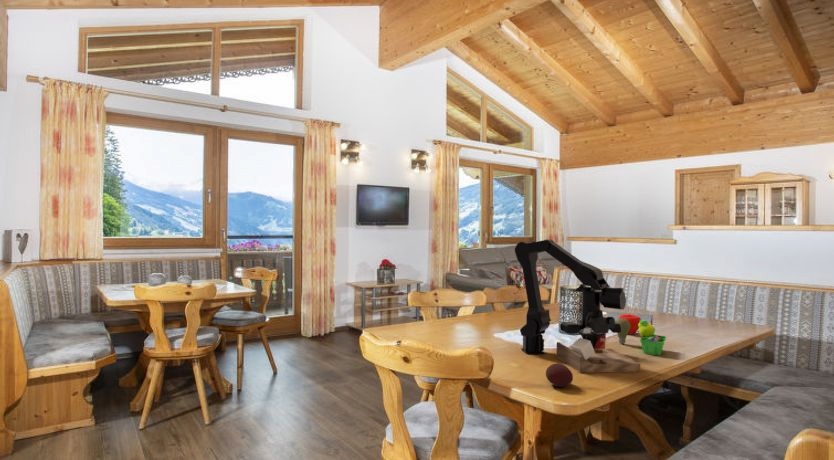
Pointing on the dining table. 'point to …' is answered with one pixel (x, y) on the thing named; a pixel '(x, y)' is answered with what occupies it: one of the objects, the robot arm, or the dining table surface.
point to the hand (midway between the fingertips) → (590, 353)
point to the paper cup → (601, 338)
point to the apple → (632, 322)
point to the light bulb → (623, 329)
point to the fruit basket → (650, 339)
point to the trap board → (597, 360)
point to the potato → (559, 375)
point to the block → (583, 348)
